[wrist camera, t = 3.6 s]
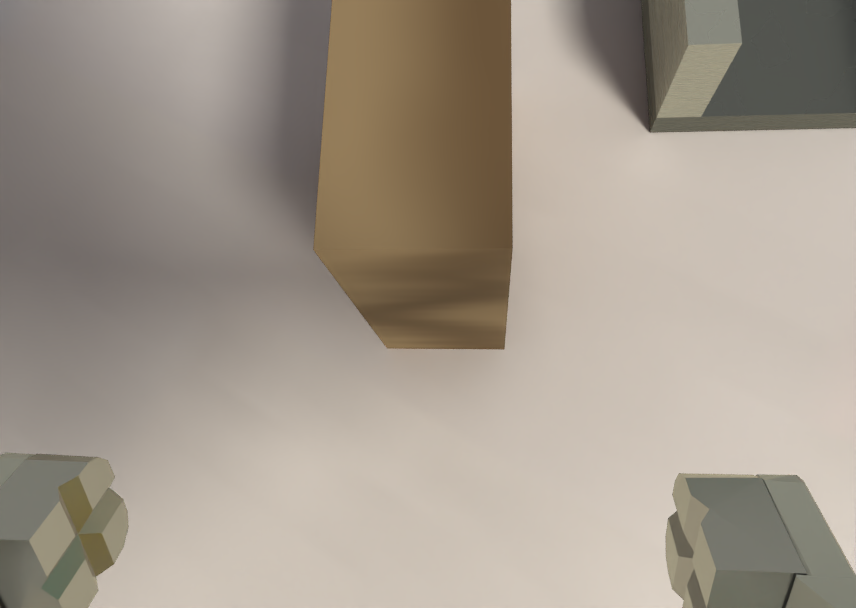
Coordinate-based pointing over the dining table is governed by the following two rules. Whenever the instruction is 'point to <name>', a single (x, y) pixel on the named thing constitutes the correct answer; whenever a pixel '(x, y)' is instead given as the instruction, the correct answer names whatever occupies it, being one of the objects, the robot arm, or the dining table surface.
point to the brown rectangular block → (419, 168)
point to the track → (750, 64)
